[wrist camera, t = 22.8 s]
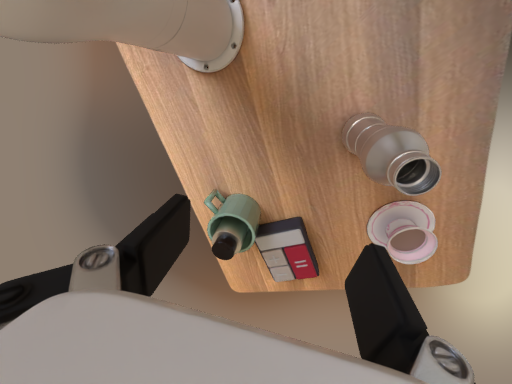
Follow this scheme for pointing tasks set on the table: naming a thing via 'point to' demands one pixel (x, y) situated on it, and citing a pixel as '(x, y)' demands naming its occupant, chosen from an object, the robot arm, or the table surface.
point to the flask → (229, 237)
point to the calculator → (287, 250)
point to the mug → (235, 214)
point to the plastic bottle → (391, 154)
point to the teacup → (404, 231)
